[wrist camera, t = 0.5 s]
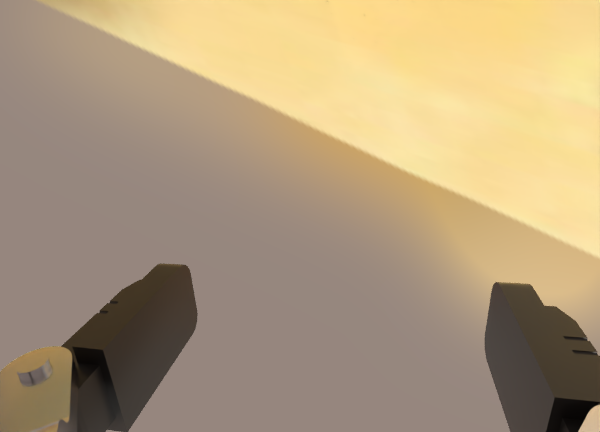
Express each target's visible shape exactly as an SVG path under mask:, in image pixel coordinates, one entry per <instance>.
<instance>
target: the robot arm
mask: <svg viewBox="0 0 600 432" xmlns="http://www.w3.org/2000/svg"><path fill="white" fill-rule="evenodd" d="M196 323H197V308H196V302H195V297H194V290H193V285H192V279H191V273H190V270H189V268H188V267H187V266H186V265H178V264H158V265H157V266H156V267H154V268H153V269H152V270H151V271H150V272H149V273H148V274H147V275H146V276H145V277H144V278H143V279H142V280H139V281H137V282H135V283H133V284H131V285H130V286H128V287H126V288H124V289H122V290H121V291H120V292H119V293H118V294H117V295H116V296H115V297H114V298H113V299H112V300H111V301H110V303H107V304H106V305H105V306H104V307H103V308H102V309H101V310H100V313H97V314H96V315H94V316H93V317H92V318H91V319H90V320H89V321H88V322H87V323H86V324H85V325H84V326H83V327H82V328H80V329H79V330H78V331H77V332H76V333H75V334H74V335H73V336H72V337H71V338H70V339H69V340H68V341H66V342H65V343H64V344H63V345H62V346H61V347H58V346H53V347H45V348H41V349H37V350H34V351H31V352H29V353H26V354H24V355H22V356H20V357H18V358H17V359H16V360H14V361H12V362H11V363H9V364H8V365H7V366H6V367H5V368H3V369H2V371H1V372H0V432H105V431H106V430H114V431H121V432H128V431H129V429H130V428H131V426H132V424H133V423H134V422H135V420H136V419H137V417H138V416H139V414H140V413H141V411H142V409H143V408H144V407H145V405H146V403H147V402H148V401H149V399H150V398H151V396H152V394H153V393H154V391H155V390H156V388H157V387H158V385H159V384H160V382H161V381H162V379H163V378H164V376H165V375H166V373H167V372H168V370H169V369H170V367H171V366H172V364H173V363H174V361H175V360H176V358H177V357H178V355H179V354H180V352H181V351H182V349H183V348H184V346H185V345H186V343H187V342H188V340H189V339H190V337H191V336H192V334H193V332H194V330H195V327H196ZM485 353H486V359H487V362H488V365H489V368H490V371H491V374H492V377H493V380H494V383H495V386H496V389H497V392H498V395H499V398H500V401H501V404H502V408H503V410H504V413H505V416H506V420H507V423H508V426H509V428H510V432H600V356H598V355H597V351H596V349H595V348H594V347H593V346H592V344H591V342H590V341H587V337H586V335H585V334H584V332H583V331H582V330H581V328H580V327H579V325H578V324H577V322H576V321H575V320H573V319H572V318H571V317H569V316H568V315H566V314H565V313H564V312H562V311H561V310H560V309H558V308H557V307H554V306H544V305H543V303H542V301H541V300H540V298H539V297H538V295H537V293H536V292H535V290H534V289H533V287H532V286H531V285H530V284H520V283H501V282H496V283H495V284H494V285H493V288H492V293H491V299H490V306H489V312H488V319H487V325H486V332H485Z"/></svg>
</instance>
